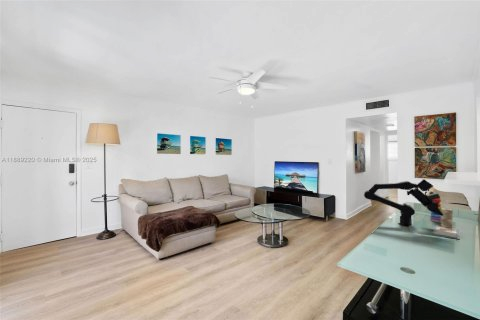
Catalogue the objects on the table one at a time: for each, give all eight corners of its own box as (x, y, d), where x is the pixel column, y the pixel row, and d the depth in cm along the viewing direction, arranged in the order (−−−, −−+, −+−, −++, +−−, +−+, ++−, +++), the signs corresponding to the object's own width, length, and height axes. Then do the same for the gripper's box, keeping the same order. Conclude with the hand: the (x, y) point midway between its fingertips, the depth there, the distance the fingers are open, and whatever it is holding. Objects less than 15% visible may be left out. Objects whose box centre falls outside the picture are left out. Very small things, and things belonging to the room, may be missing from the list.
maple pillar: (442, 229, 143) (443, 209, 143) (440, 227, 147) (441, 208, 147) (452, 230, 141) (452, 210, 140) (450, 228, 145) (450, 208, 144)
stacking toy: (438, 220, 166) (438, 196, 166) (447, 223, 158) (447, 198, 158) (427, 220, 167) (427, 195, 166) (435, 223, 159) (435, 197, 158)
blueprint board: (460, 240, 126) (460, 234, 126) (432, 235, 135) (432, 229, 135) (459, 230, 144) (459, 224, 143) (434, 226, 152) (434, 221, 152)
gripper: (434, 190, 140) (457, 209, 134) (427, 186, 156) (447, 203, 150) (418, 201, 144) (440, 220, 138) (413, 196, 160) (432, 213, 154)
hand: (440, 213), depth 145 cm, fingers open, 9 cm apart
